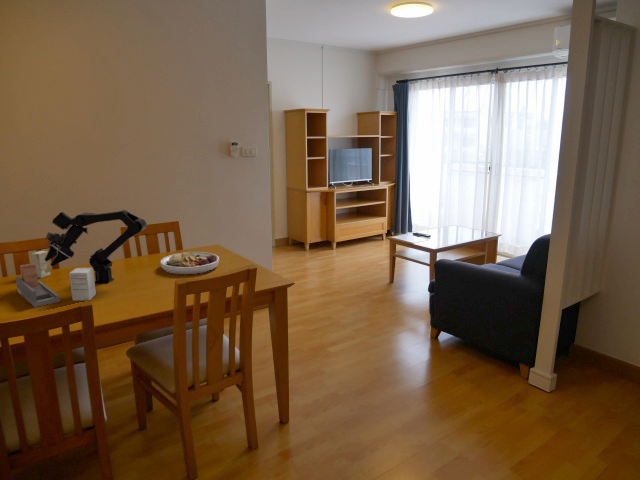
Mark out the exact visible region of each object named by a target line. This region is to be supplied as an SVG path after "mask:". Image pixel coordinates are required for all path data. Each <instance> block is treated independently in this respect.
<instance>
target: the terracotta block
mask: <svg viewBox="0 0 640 480" xmlns="http://www.w3.org/2000/svg"><path fill="white" fill-rule="evenodd" d="M19 269H20V273H21V274H20V276H21V279H22V280H23V281H24V282H25V283H27V284H28V285H29V286H30V287H31V288H36V287H39V285H38V281H39V279H38V278H37V270H36V265H34V264H33V263H32V262H31V263H27V264H21V265H19Z"/></svg>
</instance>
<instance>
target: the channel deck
mask: <svg viewBox="0 0 640 480" xmlns="http://www.w3.org/2000/svg"><path fill="white" fill-rule="evenodd" d="M15 283H16V289H17V291H16V292H18V294H19V295H21V296H22V297H23V298H24V300H26V301H27V302H28V303H29V304H30V303H31V304H32V305H31V304H30V305H31V306H32V307H33V308H38V306H39V307H42V306H43V307H44V306H47V304H48V305H51V304H56V303H59V302H61V297H60V296H59V294H58V293H56V292H55V291H53V290H52V289H51V288H50V287H49V286H48V285H46V284H45V283H43V282H42V281H41V280H38V285H39V287H36V288H31V287H30V286H29V285H28V284H27V283H25V282H24V281H23V280H22V277H20V276H15Z"/></svg>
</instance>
